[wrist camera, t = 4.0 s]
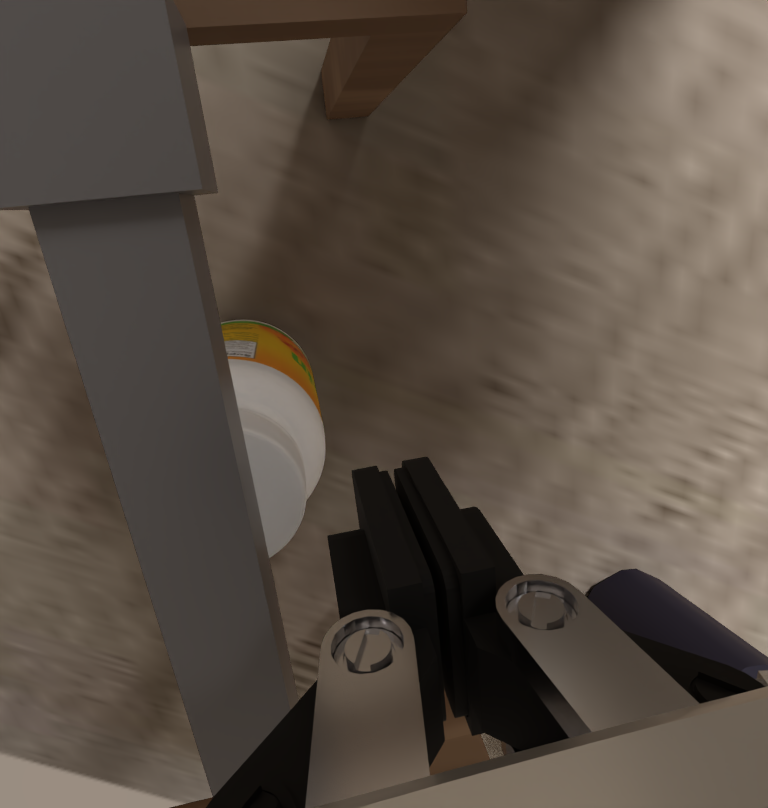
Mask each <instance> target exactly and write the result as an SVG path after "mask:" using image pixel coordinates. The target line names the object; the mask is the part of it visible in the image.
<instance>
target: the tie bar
mask: <svg viewBox="0 0 768 808" xmlns="http://www.w3.org/2000/svg"><path fill="white" fill-rule="evenodd" d="M214 193H218V189H217V184H216V179H215V173H214V168H213V163H212V158H211V153H210V147H209V142H208V137H207V132H206V127H205V121H204V116H203V111H202V106H201V100H200V95H199V90H198V85H197V80H196V74H195V69H194V64H193V59H192V53H191V48H190V43H189V38H188V33H187V27H186V24H185V22H184V20H183V18H182V16H181V14H180V12H179V11H178V9H177V7H176V5H175V3H174V1H173V0H0V210H29V211H30V214H31V218H32V221H33V224H34V227H35V230H36V234H37V237H38V240H39V243H40V246H41V250H42V253H43V256H44V259H45V262H46V265H47V269H48V272H49V275H50V278H51V281H52V285H53V288H54V291H55V294H56V297H57V301H58V304H59V307H60V310H61V313H62V317H63V320H64V323H65V326H66V329H67V333H68V336H69V339H70V342H71V345H72V348H73V352H74V355H75V358H76V361H77V364H78V368H79V371H80V374H81V377H82V380H83V384H84V387H85V390H86V393H87V396H88V400H89V403H90V406H91V409H92V412H93V415H94V419H95V422H96V425H97V428H98V431H99V435H100V438H101V441H102V444H103V447H104V451H105V454H106V457H107V460H108V463H109V467H110V470H111V473H112V476H113V479H114V482H115V486H116V489H117V492H118V495H119V498H120V502H121V505H122V508H123V511H124V514H125V518H126V521H127V524H128V527H129V530H130V534H131V537H132V540H133V543H134V546H135V550H136V553H137V556H138V559H139V562H140V565H141V569H142V572H143V575H144V578H145V581H146V585H147V588H148V591H149V594H150V597H151V601H152V604H153V607H154V610H155V613H156V617H157V620H158V623H159V626H160V629H161V632H162V636H163V639H164V642H165V645H166V648H167V652H168V655H169V658H170V661H171V664H172V668H173V671H174V674H175V677H176V680H177V684H178V687H179V690H180V693H181V696H182V700H183V703H184V706H185V709H186V712H187V715H188V719H189V722H190V725H191V728H192V731H193V735H194V738H195V741H196V744H197V747H198V751H199V754H200V757H201V760H202V763H203V767H204V770H205V773H206V776H207V779H208V782H209V786H210V789H211V792H212V795H213V797H214V796H215V795H216V793H217V792H218V791H219V790H220V789H221V788H222V787H223V786H224V784H225V783H226V782H227V781H228V780H229V779H230V778H231V777H232V775H233V774H234V773H235V772H236V771H237V770H238V769H239V768H240V766H241V765H242V764H243V763H244V762H245V761H246V760H247V759H248V757H249V756H250V755H251V754H252V753H253V752H254V751H255V750H256V748H257V747H258V746H259V745H260V744H261V743H262V742H263V741H264V739H265V738H266V737H267V736H268V735H269V734H270V733H271V732H272V730H273V729H274V728H275V727H276V726H277V725H278V724H279V722H280V721H281V720H282V719H283V718H284V717H285V716H286V715H287V713H288V712H289V711H290V710H291V709H292V708H293V707H294V706H295V704H296V703H297V702H298V701H299V700H298V695H297V690H296V686H295V681H294V676H293V671H292V666H291V661H290V657H289V652H288V647H287V642H286V637H285V632H284V628H283V623H282V618H281V613H280V608H279V604H278V599H277V594H276V589H275V584H274V579H273V575H272V570H271V565H270V560H269V555H268V550H267V546H266V541H265V536H264V531H263V526H262V521H261V517H260V512H259V507H258V502H257V497H256V492H255V488H254V483H253V478H252V473H251V468H250V463H249V459H248V454H247V449H246V444H245V439H244V434H243V430H242V425H241V420H240V415H239V410H238V405H237V401H236V396H235V391H234V386H233V381H232V377H231V372H230V367H229V362H228V357H227V352H226V348H225V343H224V338H223V333H222V328H221V323H220V319H219V314H218V309H217V304H216V299H215V294H214V290H213V285H212V280H211V275H210V270H209V265H208V261H207V256H206V251H205V246H204V241H203V236H202V232H201V227H200V222H199V217H198V212H197V207H196V203H195V198H194V195H203V194H214Z"/></svg>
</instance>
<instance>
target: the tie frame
mask: <svg viewBox="0 0 768 808" xmlns="http://www.w3.org/2000/svg"><path fill="white" fill-rule="evenodd" d="M173 1H174V3H175V5H176V7H177V9H178V11H179V12H180V14H181V16H182V18H183V20H184V22H185V24H186V27H187V33H188V38H189V43H190V46H200V45H217V44H234V43H251V42H269V41H286V40H303V39H320V38H331V39H330V43H329V46H328V49H327V53H326V56H325V59H324V63H323V66H322V70H321V75H322V84H323V92H324V101H325V109H326V118H327V120H329V119H342V118H354V117H367V116H369V115H370V114H371V113H372V112H373V111H374V110H375V109H376V108H377V107H378V105H379V104H380V103H381V102H382V101H383V100H384V99H385V98H386V97H387V96H388V95H389V94H390V93H391V92H392V91H393V90H394V89H395V88H396V87H397V86H398V85H399V83H400V82H401V81H402V80H403V79H404V78H405V77H406V76H407V75H408V74H409V73H410V72H411V71H412V70H413V69H414V68H415V67H416V66H417V65H418V64H419V63H420V61H421V60H422V59H423V58H424V57H425V56H426V55H427V54H428V53H429V52H430V51H431V50H432V49H433V48H434V47H435V46H436V45H437V44H438V43H439V42H440V41H441V40H442V38H443V37H444V36H445V35H446V34H447V33H448V32H449V31H450V30H451V29H452V28H453V27H454V26H455V25H456V24H457V23H458V22H459V21H460V20H461V19H462V18H463V16H464V15H465V14H466V13H467V0H173ZM444 695H445V706H446V721H443V725H444V735H445V742H444V744H443V745H442V747H441V749H440V750H439V752H438V754H437V756H436V757H435V759H434V761H433V763H432V764H431V766H430V768H429V771H430V775H434V774H438V773H441V772H445V771H449V770H452V769H456V768H460V767H464V766H467V765H471V764H475V763H479V762H482V761H486V760H490V758H489V756H488V753H487V750H486V748H485V745H484V743H483V740H482V737H481V735H480V734H478V735H475V736H472V735H471V732H470V729H469V727H468V724H467V721H466V718H465V716H462V717H458V718H455V717H454V715H453V713H452V710H451V707H450V704H449V701H448V699H447V696H446V693H445V690H444ZM212 798H213V797H212ZM212 798H208V799H204V800H200V801H196V802H191V803H187V804H183V805H179V806H175V807H171V808H206V807H207V805H208V804H209V802H210V801H211V800H212Z"/></svg>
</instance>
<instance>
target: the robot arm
mask: <svg viewBox="0 0 768 808" xmlns="http://www.w3.org/2000/svg"><path fill="white" fill-rule="evenodd" d="M352 478H353V485H354V492H355V499H356V506H357V513H358V520H359V527H360V529H359V530H354V531H349V532H344V533H339V534H334V535H329V536H328V543H329V549H330V556H331V562H332V569H333V575H334V582H335V589H336V595H337V602H338V608H339V615H340V620H339V621H338V622H336V623H335V624H334V625H333V626H331V628H330V629H329V630H328V632H327V633H326V635H325V636H324V638H323V642H322V645H321V649H320V659H319V669H318V680H317V681H316V682H315V683H314V684H313V685H312V686H311V688H310V689H309V690H308V691H307V692H306V693H305V694H304V695H303V697H302V698H301V699H300V700H299V701H298V702H297V703H296V704H295V706H294V707H293V708H292V709H291V710H290V711H289V712H288V713H287V715H286V716H285V717H284V718H283V719H282V720H281V721H280V722H279V724H278V725H277V726H276V727H275V728H274V729H273V730H272V732H271V733H270V734H269V735H268V736H267V737H266V738H265V739H264V741H263V742H262V743H261V744H260V745H259V746H258V747H257V748H256V750H255V751H254V752H253V753H252V754H251V755H250V756H249V757H248V759H247V760H246V761H245V762H244V763H243V764H242V765H241V766H240V768H239V769H238V770H237V771H236V772H235V773H234V774H233V775H232V777H231V778H230V779H229V780H228V781H227V782H226V783H225V784H224V786H223V787H222V788H221V789H220V790H219V791H218V792H217V793H216V795H215V796H214V797H213V798H212V800H211V801H210V802H209V804H208V805H207V807H206V808H768V670H764V671H758V674H757V679H754V678H752V677H751V676H749V675H748V674H746V673H745V672H743V671H740V670H738V669H736V668H733V667H731V666H729V665H726V664H723V663H720V662H717V661H714V660H711V659H708V658H705V657H702V656H699V655H696V654H693V653H690V652H687V651H684V650H681V649H678V648H675V647H672V646H669V645H666V644H663V643H660V642H657V641H654V640H651V639H648V638H645V637H642V636H639V635H636V634H633V633H630V632H627V631H624V630H621V629H620V628H619V627H618V626H617V625H616V624H615V623H613V622H612V621H611V620H610V619H609V618H608V617H607V616H606V615H605V614H604V613H603V612H602V611H601V610H600V609H599V608H598V607H596V606H595V605H594V604H593V603H592V602H591V601H590V600H589V599H588V598H587V597H586V596H585V595H584V594H583V593H582V592H581V591H579V590H578V589H577V588H576V587H574V586H573V585H571V584H570V583H569V582H566V581H564V580H562V579H559V578H557V577H553V576H548V575H543V574H528V575H523V573H522V572H521V570H520V569H519V567H518V566H517V564H516V563H515V561H514V560H513V558H512V557H511V556H510V554H509V553H508V551H507V550H506V548H505V547H504V545H503V544H502V542H501V541H500V539H499V538H498V536H497V535H496V533H495V532H494V530H493V529H492V528H491V526H490V525H489V523H488V522H487V520H486V519H485V517H484V516H483V514H482V513H481V511H480V510H479V509H478V508H477V507H470V508H465V509H459V507H458V505H457V504H456V502H455V501H454V499H453V497H452V496H451V494H450V492H449V491H448V489H447V488H446V486H445V484H444V483H443V481H442V479H441V478H440V476H439V474H438V473H437V471H436V470H435V468H434V466H433V465H432V463H431V461H430V460H429V458H428V457H422V458H417V459H411V460H406V461H402V468H398V469H394V478H395V486H396V490H395V487H394V485H393V482H392V480H391V478H390V475H389V473H388V471H381V472H379V470H378V468H377V466H373V467H367V468H362V469H356V470H352ZM444 690H445V693H446V696H447V699H448V701H449V704H450V707H451V710H452V713H453V715H454V717H455V718H458V717H462V716H465V718H466V721H467V724H468V727H469V729H470V732H471V735H472V736H475V735H478V734H482V733H486V734H488V735H490V736H492V737H494V738H496V739H498V740H500V741H501V745H502V751H503V754H504V756H501V757H497V758H494V759H490V760H486V761H482V762H479V763H475V764H471V765H467V766H464V767H460V768H456V769H452V770H449V771H445V772H441V773H438V774H434V775H430V771H429V768H430V766H431V764H432V763H433V761H434V759H435V757H436V756H437V754H438V752H439V750H440V749H441V747H442V745H443V744H444V742H445V735H444V725H443V721H446V706H445V695H444Z"/></svg>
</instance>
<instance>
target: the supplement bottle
mask: <svg viewBox="0 0 768 808" xmlns="http://www.w3.org/2000/svg"><path fill="white" fill-rule="evenodd" d="M221 328H222V333H223V338H224V343H225V348H226V352H227V357H228V362H229V367H230V372H231V377H232V381H233V386H234V391H235V396H236V401H237V405H238V410H239V415H240V420H241V425H242V430H243V434H244V439H245V444H246V449H247V454H248V459H249V463H250V468H251V473H252V478H253V483H254V488H255V492H256V497H257V502H258V507H259V512H260V517H261V521H262V526H263V531H264V536H265V541H266V546H267V550H268V555H269V558H270V557H272V556H273V555H275V554H276V553H278V552H279V551H280V550H281V549H282V548H283V547H284V546H285V545H286V544H287V543H288V542H289V541H290V540H291V539H292V537H293V536H294V534H295V533H296V531H297V530H298V528H299V526H300V524H301V522H302V519H303V516H304V513H305V508H306V500H307V499H308V498H309V497H310V495H311V494H312V492H313V490H314V489H315V487H316V485H317V483H318V481H319V478H320V476H321V473H322V470H323V467H324V461H325V452H326V444H325V432H324V426H323V421H322V416H321V411H320V406H319V401H318V396H317V392H316V387H315V382H314V377H313V373H312V369H311V366H310V363H309V361H308V359H307V357H306V355H305V353H304V351H303V350H302V349H301V347H300V346H299V345H298V344H297V342H296V341H295V340H294V339H293V338H291V337H290V336H289V335H288V334H287V333H285V332H284V331H282V330H280V329H279V328H277V327H275V326H272V325H270V324H267V323H264V322H260V321H255V320H231V321H226V322H222V323H221Z"/></svg>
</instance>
